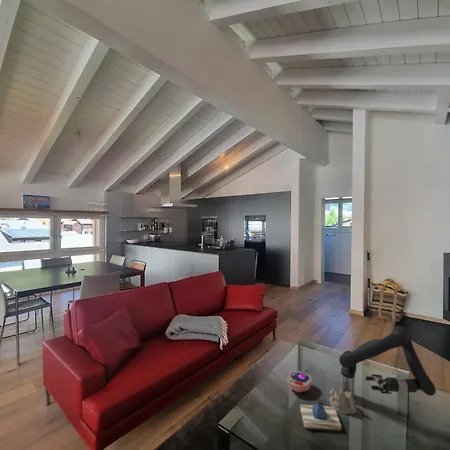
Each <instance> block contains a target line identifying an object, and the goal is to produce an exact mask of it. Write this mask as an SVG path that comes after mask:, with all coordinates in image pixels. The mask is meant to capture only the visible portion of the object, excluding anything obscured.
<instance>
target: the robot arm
mask: <svg viewBox="0 0 450 450" xmlns="http://www.w3.org/2000/svg"><path fill="white" fill-rule="evenodd" d="M399 347H401V348H402V351H403V353H404V356H405V361H406V363H407V366H408V368H409V370H410V372H411V373H412V375H413V377H414V378H401V377H391V376H387V377H386V378H383V375H382V374H373V373H372V374H371V376H365V380H366V381H371V382H374V383H376V384H378V385H371V390H372V391H378V392H380V393H381V394H386V395H387V394H389V395H392V394H393V392H394V393H416V392H418V391H421V392H422V393H424V394H425V395H427V396H431V397H432V396H434V395H435V394H436V391H437V390H436V386H435V384H434V383H433V381H432V380H431V378H430V377H429V375H428V374H427V372H426V370H425V368H424V366H423V365H422V363H421V361H420V359H419V356H418V354H417V352H416V350H415V347H414V345H413V342H412V339H411V336H410V332H409V331H408V329H406V328H405V327H403V326H401V325H395V327H393V328H392V329H391V332H390V333H389V334H388V335H386V336H384V337H383V338H377V339H376V338H375V339H370V340H368V341H366V342H365V343H362V344H361V345H359V346H358V347H357V348H356V349H354V350H353V351H352V350H346V351H344V352H342V354H341V355H340V356H339V359H338V360H339V364H340V365H341V368H340V390H342V391H343V392H346V391H347V392H348V393H349V392H351V393H352V398H353V399H354V400H355V396H356V393H355V390H356V389H355V388H356V372H357V364H359V363H362V362H364V361H367V360H369V359H372V358H375V357H377V356H379V355H381V354H384V353H386V352H387V351H390V350H393V349H396V348H399Z"/></svg>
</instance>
